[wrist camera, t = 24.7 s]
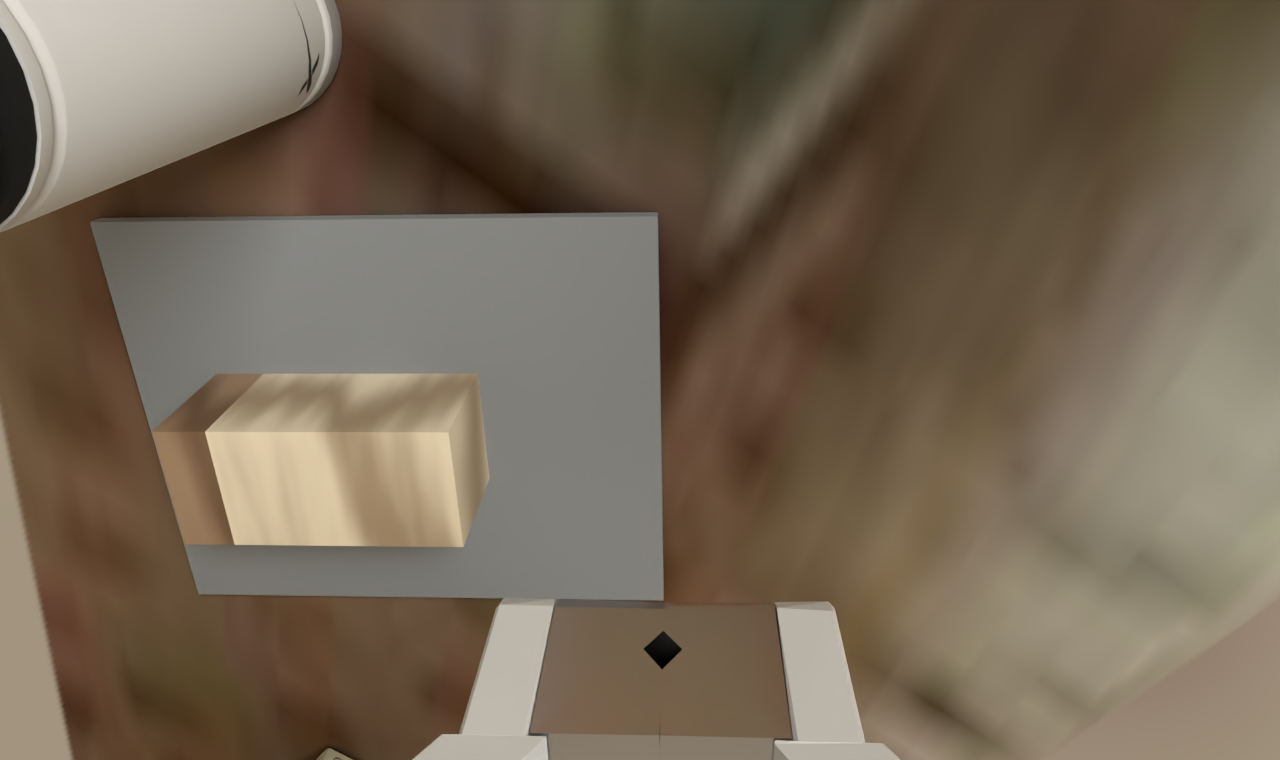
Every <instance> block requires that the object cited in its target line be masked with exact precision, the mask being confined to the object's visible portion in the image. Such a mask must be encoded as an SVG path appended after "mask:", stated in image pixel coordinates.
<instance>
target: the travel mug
mask: <svg viewBox="0 0 1280 760" xmlns="http://www.w3.org/2000/svg"><path fill="white" fill-rule="evenodd" d="M341 51H342V29H341V23H340V16H339V12H338V9H337V6H336V3H335V0H0V232H3V231H6V230H8V229H11V228H13V227H16V226H18V225H21V224H23V223H26V222H28V221H30V220H33V219H35V218H38V217H40V216H43V215H45V214H48V213H50V212H52V211H55V210H57V209H60V208H62V207H65V206H67V205H70V204H72V203H75V202H77V201H79V200H82V199H84V198H87V197H89V196H92V195H94V194H97V193H99V192H101V191H104V190H106V189H109V188H111V187H114V186H116V185H119V184H121V183H124V182H126V181H128V180H131V179H133V178H136V177H138V176H141V175H143V174H146V173H148V172H151V171H153V170H155V169H158V168H160V167H163V166H165V165H168V164H170V163H173V162H175V161H177V160H180V159H182V158H185V157H187V156H190V155H192V154H195V153H197V152H200V151H202V150H204V149H207V148H209V147H212V146H214V145H217V144H219V143H222V142H224V141H227V140H229V139H231V138H234V137H236V136H239V135H241V134H244V133H246V132H249V131H251V130H253V129H256V128H258V127H261V126H263V125H266V124H268V123H271V122H273V121H276V120H278V119H280V118H283V117H285V116H288V115H290V114H293V113H295V112H297V111H299V110H301V109H303V108H305V107H307V106H309V105H311V104H312V103H313V102H314V101H315V100H317V99H318V98H319V97H320V96H321V95H322V94H323V93H324V91H325V90H326V89H327V87H328V86H329V85H330V84H331V82H332V79H333V77H334V75H335V73H336V71H337V69H338V65H339V60H340V56H341Z"/></svg>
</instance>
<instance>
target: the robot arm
mask: <svg viewBox="0 0 1280 760" xmlns="http://www.w3.org/2000/svg"><path fill="white" fill-rule="evenodd" d="M412 760H901V759H900V758H898V757H897V756H896V755H895V754H894V753H893V752H892V751H891V750H890V749H889V748H888V747H887V746H886V745H885V744H883V743H865V739H864V735H863V730H862V726H861V722H860V717H859V713H858V709H857V704H856V700H855V695H854V691H853V687H852V682H851V678H850V674H849V669H848V665H847V661H846V656H845V652H844V647H843V643H842V639H841V634H840V630H839V626H838V621H837V617H836V612H835V608H834V607H833V606H832V605H831V604H830V603H829V602H774V605H773V604H759V603H665V602H639V601H610V600H582V599H558V601H557V600H554V599H530V598H504V599H503V600H502V601H501V603H500V604H499V605H498V606H497V608H496V610H495V613H494V617H493V620H492V624H491V627H490V630H489V634H488V637H487V640H486V644H485V647H484V651H483V654H482V657H481V661H480V664H479V668H478V671H477V674H476V678H475V681H474V685H473V688H472V691H471V695H470V698H469V702H468V705H467V708H466V712H465V715H464V719H463V722H462V725H461V729H460V732H459V734H441V735H440V736H439V737H438V738H437V739H435V740H434V741H433V742H432V743H431V744H430V745H428V746H427V747H426V748H425V749H424V750H423V751H421V752H420V753H419V754H418V755H417V756H416V757H414V758H413V759H412Z"/></svg>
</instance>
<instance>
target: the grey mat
mask: <svg viewBox="0 0 1280 760" xmlns="http://www.w3.org/2000/svg"><path fill="white" fill-rule="evenodd" d="M90 225H91V228H92V232H93V235H94V239H95V242H96V245H97V249H98V252H99V256H100V259H101V262H102V266H103V269H104V273H105V276H106V280H107V283H108V286H109V290H110V293H111V297H112V300H113V304H114V307H115V310H116V314H117V317H118V321H119V324H120V327H121V331H122V334H123V338H124V341H125V345H126V348H127V351H128V355H129V358H130V362H131V365H132V368H133V372H134V375H135V379H136V382H137V386H138V389H139V392H140V396H141V399H142V403H143V406H144V409H145V413H146V416H147V420H148V423H149V427H150V430H151V433H152V431H153V430H154V429H155V428H156V427H158V426H159V425H160V424H161V423H162V422H163V421H164V420H165V419H166V418H168V417H169V416H170V415H171V414H172V413H173V412H174V411H175V410H177V409H178V408H179V407H180V406H181V405H182V404H183V403H184V402H186V401H187V400H188V399H189V398H190V397H191V396H192V395H193V394H194V393H196V392H197V391H198V390H199V389H200V388H201V387H202V386H203V385H205V384H206V383H207V382H208V381H209V380H210V379H211V378H212V377H214V376H215V375H216V374H478V379H479V388H480V397H481V406H482V415H483V424H484V433H485V442H486V451H487V460H488V469H489V481H488V484H487V486H486V489H485V492H484V494H483V497H482V499H481V502H480V505H479V507H478V510H477V513H476V515H475V518H474V521H473V523H472V526H471V528H470V531H469V534H468V536H467V539H466V542H465V544H464V547H401V546H299V545H198V544H184V546H185V550H186V553H187V556H188V560H189V563H190V567H191V570H192V574H193V577H194V580H195V584H196V587H197V591H198V594H211V595H287V596H363V597H439V598H530V599H591V600H664V568H663V503H662V438H661V372H660V307H659V242H658V212H625V213H529V214H433V215H337V216H241V217H145V218H98V219H96V220H93V221H91V222H90ZM152 437H153V434H152ZM153 440H154V438H153ZM154 444H155V441H154ZM155 447H156V445H155ZM156 451H157V448H156ZM157 454H158V451H157ZM158 457H159V455H158ZM159 461H160V458H159ZM160 464H161V462H160ZM161 468H162V465H161ZM162 471H163V469H162ZM163 474H164V472H163ZM164 478H165V475H164ZM165 481H166V479H165ZM166 485H167V482H166ZM167 488H168V486H167ZM168 492H169V489H168ZM169 495H170V492H169ZM170 498H171V496H170ZM171 502H172V499H171ZM172 505H173V503H172ZM173 509H174V506H173ZM174 512H175V510H174ZM175 515H176V513H175ZM176 519H177V516H176ZM177 522H178V520H177ZM178 526H179V523H178ZM179 529H180V527H179ZM180 533H181V530H180ZM181 536H182V534H181ZM182 539H183V537H182ZM183 543H184V540H183Z"/></svg>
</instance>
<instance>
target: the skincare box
mask: <svg viewBox="0 0 1280 760" xmlns="http://www.w3.org/2000/svg"><path fill="white" fill-rule="evenodd" d="M316 760H353V759H351V758H349V757H347V756H345V755H343V754H341V753H339V752H337V751H335V750H333V749H331V748H327V749H326V750H325V751H324V752H323V753H322V754H321V755H320V756H319V757H318V758H317V759H316Z"/></svg>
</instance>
